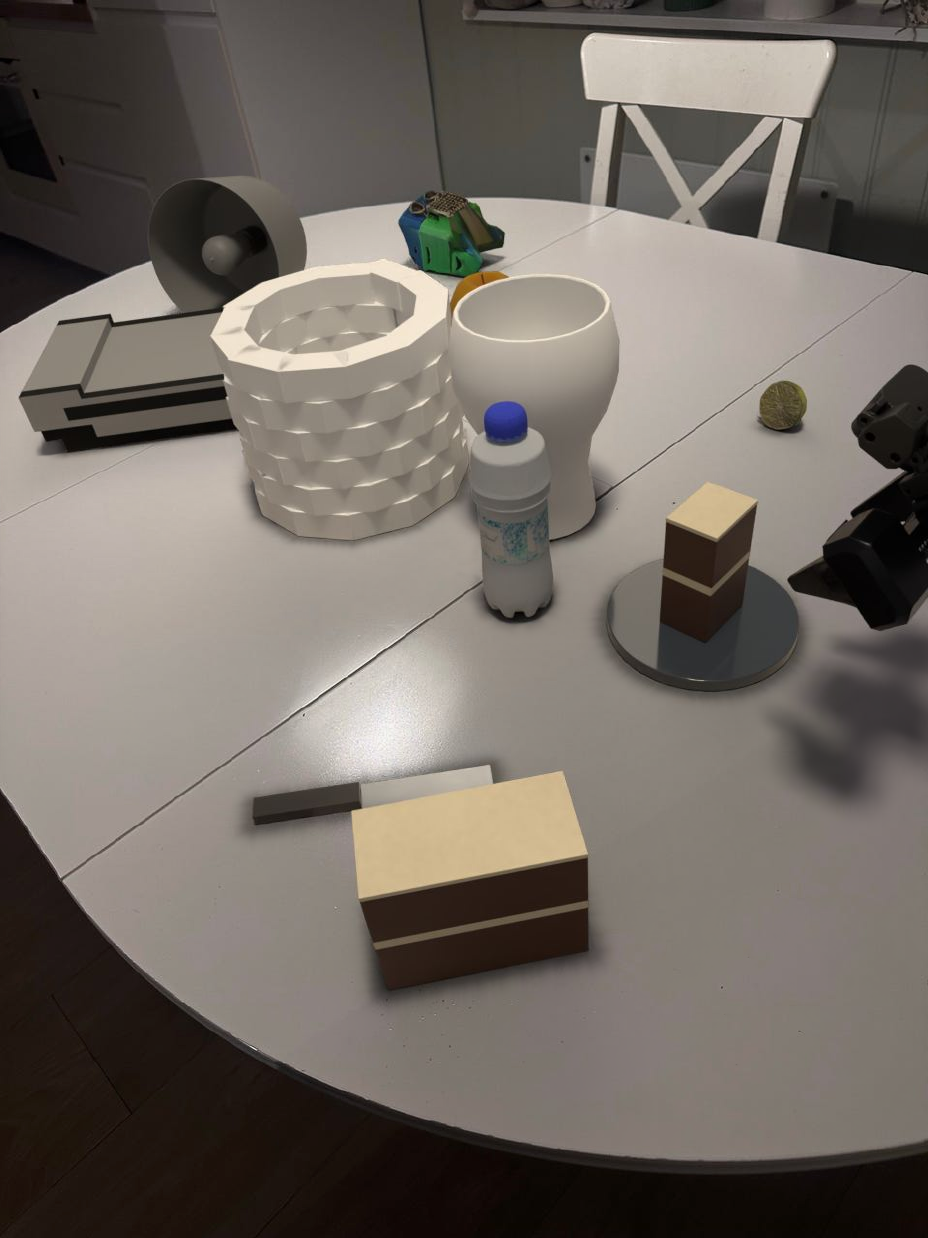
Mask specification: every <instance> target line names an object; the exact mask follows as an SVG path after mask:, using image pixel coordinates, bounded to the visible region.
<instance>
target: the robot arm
mask: <svg viewBox="0 0 928 1238" xmlns="http://www.w3.org/2000/svg"><path fill="white" fill-rule="evenodd" d="M850 429H851V431H852V434H853V435H854V436H855V437H856V439H857V443H858V447H859V448H860V449H861V450H862V451H864V452H865V454H866V455H868V456H870V457H871V458H872V459H874V460H875V461H876V462H877V463H878V464H880V465H881V466H882V467H883V468H885V469H887V470H898V469H900V470H902V472H901V473H900V474H898V475H897V476H896V477H894V478H893V479H892V480H891V481H889V482H888V483H886V484H885V485H883V486H882V487H881V488H879V489H878V490H877V491H875V492H873V494H871V495H870V496H869V497H868V498H866V499H865V500H863V501H862V502H861V503H859V504H858V505H857V506H855V507H854V508H853V509H851V511H850V517H851V519H849V520H848V519H844V521H842V523H841V524H840V525H839V526H838V527H837V528H836V529H835V530H834V531H833V532H832V534H831V535H829V536H828V538H826V540H825V542H824V544H823V545H822V555H821V556H819V557H817V558H816V559H814V560H813V561H811V562H810V563H808V564H806V565H805V566H803V567H801V568H800V569H798V570H797V571H795V572H794V573H792V574H790V575H789V576H788V577H787V579H786V581H787V583H788V584H789V586H790V587H791V589H792V591H794V592H795V593H798V594H803V595H807V596H811V597H816V598H820V599H824V600H829V601H831V602H832V601H833V602H837V603H840V604H843V605H847V606H851V607H853V608H856V610H857V611H858V612H859V613H860V615H861V617H862V619H863V620H864V622H866V624H867V625H868V627H869V629H870V630H874V631H878V632H882V631H886V630H890V629H895V628H898V627H902V626H905V625H908V623H910V621H912V619H913V618H914V616H915V615H916V614H917V612H918V611H919V610H920V609H921V607H922V606H923V605H924V603H925V602H926V601H927V600H928V371H927V370H925V368H923V367H921V366H920V365H917V364H912V363H911V364H910V363H909V364H906V365H904V366H903V367H902V368H901V369H900V370H899V371H897V373H896V374H894V375H893V376H892V377H891V378H890V379H889V380H888V381H886V383H885V384H884V385H883V386H882V387H881V388H880V389H879V390H878V391H877V393H876V394H875V395H874V396H873V397H872V399H871V400H870V401H869V402H868V403H867V404H866V405H865V407H864V408H863V409H862V410H861V411H860V412H859V414H858V415H857V416H856V417H855V418H854V419H853V421H852V422H851V424H850Z"/></svg>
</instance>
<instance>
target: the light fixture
mask: <svg viewBox="0 0 928 1238" xmlns="http://www.w3.org/2000/svg"><path fill="white" fill-rule="evenodd" d="M307 243H308V242H307V237H306V232H305V229H304V226H303V223H302V219H301V218H300V216H299V215H298V212H297V211H296V209H295V207H294V205H293V204H292V203H291V202H290V200H289V199H288V198H287V197H286V196H285V195H284V193H282V191H280V190H279V189H278V188H277V187H275V186H274V185H272V184H271V183H269V182H268V181H265V180H263V179H260V178H258V177H254V176H249V175H231V176H213V177H199V178H190V179H189V178H188V179H184V180H181V181H178V182H176V183H174V184H172V185H171V186H169V187H168V188H166V189H165V190H164V191H163V192H162V194H161V195H159V197H158V198H157V199H156V202H155V203H154V205H153V207H152V210H151V213H150V216H149V221H148V227H147V246H148V253H149V257H150V261H151V264H152V268H153V270H154V272H155V275H156V278H157V280H158V282H159V283H160V286H161V287H162V289H163V290H164V292H165V294H166V295H167V296H168V298H169V299H170V301H172V303H173V304H174V305H175V306H176V307H177V308H178V309H179V310H180V311H181V313H186V312H194V311H201V310H208V309H216V308H223V306H224V305H226V304H228V303H229V302H231V301H233V300H234V299H236V298H237V297H239V296H241V295H242V294H244V293H246V292H247V291H249V290H251V289H252V288H254V287H255V286H257V285H259V284H260V283H262V282H265V281H269V280H272V279H276V278H279V277H282V276H286V275H289V274H293V273H296V272H299V271H303V270H305V268H306V264H307V259H308V258H307V257H308V244H307Z"/></svg>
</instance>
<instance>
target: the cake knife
mask: <svg viewBox="0 0 928 1238" xmlns="http://www.w3.org/2000/svg"><path fill="white" fill-rule="evenodd" d="M491 766H492V765H491V764H485V765H478V766H473V767H466V768H465V767H464V768H459V769H452V770H446V771H439V772H432V773H426V774H419V775H413V776H405V777H399V778H393V779H386V780H378V781H372V782H366V783H360V782H359V781H354V782H348V783H342V784H334V785H328V786H321V787H316V788H315V787H314V788H309V789H302V790H296V791H295V790H294V791H289V792H282V793H275V794H274V793H273V794H267V795H262V796H255V797H253V799H252V815H251V818H252V820H253V822H254V824H255V825H262V824H269V823H275V822H282V821H288V820H295V819H302V818H309V817H316V816H322V815H329V814H335V813H343V812H350V811H354V810H359V809H364V808H369V807H375V806H380V805H385V804H391V803H396V802H401V801H406V800H412V799H417V798H422V797H427V796H433V795H438V794H443V793H448V792H454V791H459V790H464V789H469V788H475V787H480V786H485V785H491V784H495V783H494V778H493V772H492V767H491Z"/></svg>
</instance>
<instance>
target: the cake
mask: <svg viewBox="0 0 928 1238" xmlns="http://www.w3.org/2000/svg"><path fill="white" fill-rule="evenodd" d="M350 814H351V827H352V828H351V829H352V840H353V850H354V863H355V874H356V886H357V887H356V888H357V898H358V901H359V905H360V907H361V911H362V913H363V917H364V920H365V924H366V926H367V928H368V932H369V935H370V939H371V941H372V944H373V947H374V948H373V949H374V951H375V954H376V956H377V960H378V963H379V966H380V969H381V972H382V976H383V978H384V982H385V984H386V987H387V990H388V991H391V990H396V989H402V988H407V987H411V986H416V985H421V984H426V983H431V982H436V981H441V980H445V979H451V978H456V977H461V976H465V975H466V976H467V975H472V974H475V973H476V974H477V973H480V972H481V973H482V972H485V971H491V970H495V969H501V968H506V967H511V966H515V965H521V964H526V963H531V962H535V961H540V960H545V959H550V958H555V957H556V958H557V957H560V956H567V955H570V954H571V955H572V954H575V953H581V952H586V951H588V950H589V948H590V947H589V945H590V943H589V939H590V938H589V937H590V936H589V934H590V933H589V931H590V930H589V929H590V928H589V852H588V848H587V846H586V843H585V839H584V836H583V835H584V834H583V832H582V829H581V826H580V823H579V819H578V815H577V813H576V809H575V806H574V803H573V800H572V796H571V794H570V790H569V786H568V783H567V781H566V777H565V773H564V771H563V770H559V771H554V772H549V773H544V774H538V775H533V776H528V777H523V778H518V779H517V778H516V779H512V780H506V781H501V782H496V783H494V784H491V785H485V786H480V787H475V788H469V789H464V790H459V791H454V792H448V793H443V794H438V795H433V796H427V797H422V798H417V799H412V800H406V801H401V802H396V803H391V804H385V805H380V806H375V807H369V808H364V809H356V810H350Z"/></svg>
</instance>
